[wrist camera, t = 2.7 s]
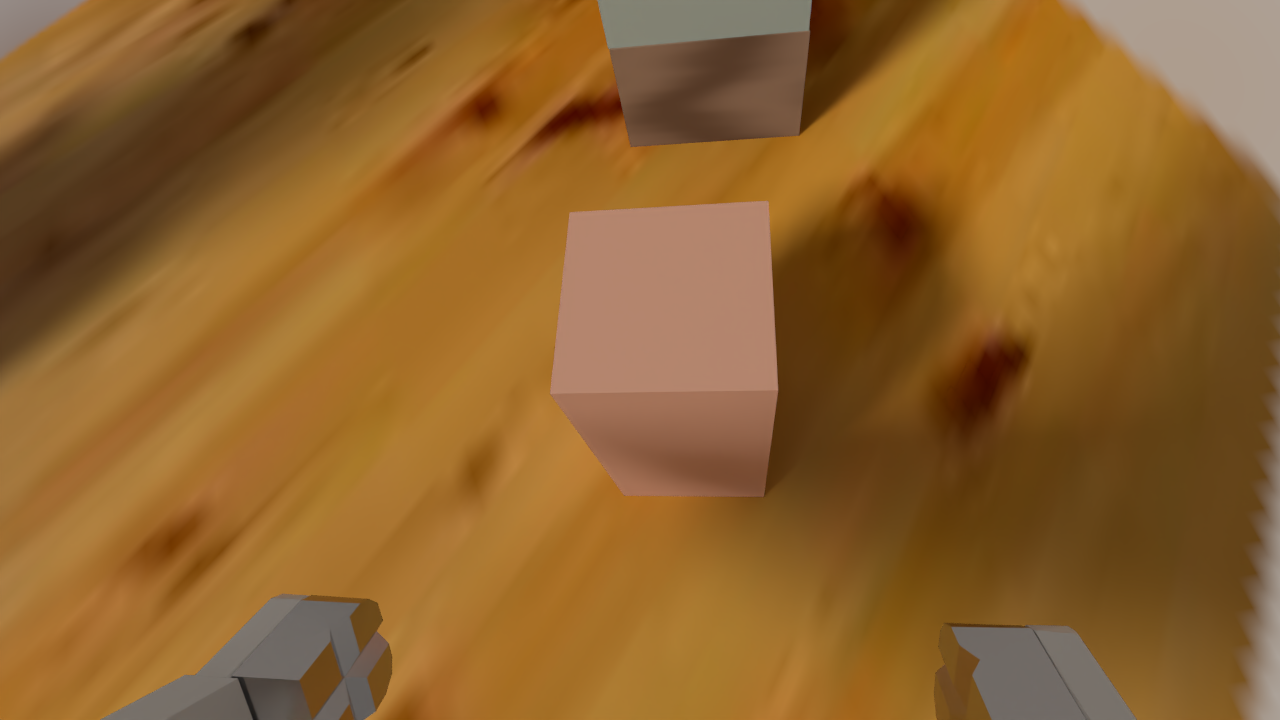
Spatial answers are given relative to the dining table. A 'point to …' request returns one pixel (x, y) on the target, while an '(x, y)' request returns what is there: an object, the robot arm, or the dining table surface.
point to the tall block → (671, 346)
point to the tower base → (712, 88)
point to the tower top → (698, 19)
